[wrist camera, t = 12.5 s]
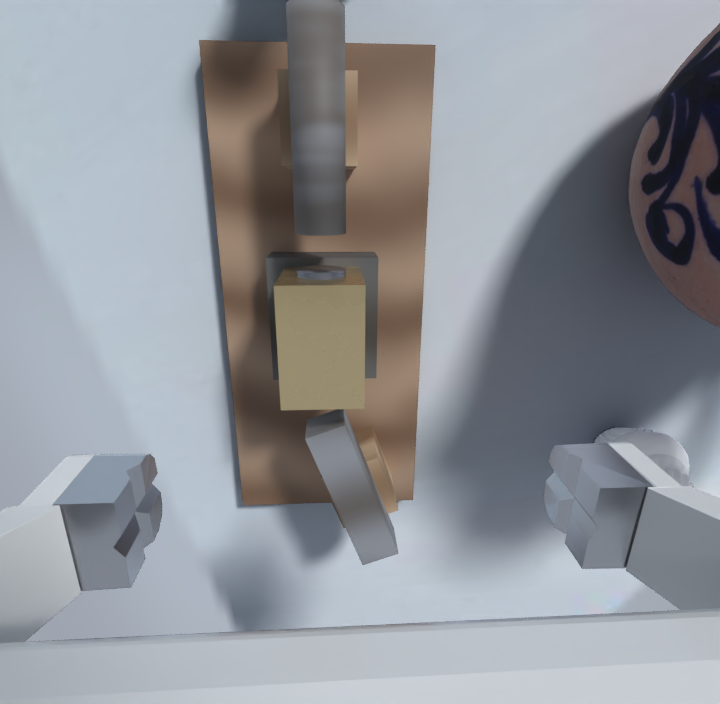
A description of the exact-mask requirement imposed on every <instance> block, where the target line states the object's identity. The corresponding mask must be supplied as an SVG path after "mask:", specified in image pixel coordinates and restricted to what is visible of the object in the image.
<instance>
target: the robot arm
mask: <svg viewBox="0 0 720 704" xmlns="http://www.w3.org/2000/svg"><path fill="white" fill-rule="evenodd" d="M549 464H550V466H551V467H552V469H553V470H554V472H553V473H552V475H551V476H550V477H549V478H548V479H547V480H546V481H545V488H544V502H545V509H546V512H547V514H548V517H549V519H550V520H551V522H552V524H553V525H554V527H556V528H557V529H559V530H561V531H562V532H564V533H565V534H567V535H566V541H565V544H566V545H567V547H568V548H569V550H570V551H571V553H572V554H573V556H574V557H575V559H576V560H577V562H578V563H579V565H580V566H581V568H582V569H598V568H626V571H627V572H629V573H630V574H632V575H633V576H634V577H636V578H637V579H639V580H640V581H641V582H643V583H644V584H645V585H647V586H648V587H650V588H651V589H652V590H654V591H655V592H657V593H658V594H659V595H661V596H662V597H663V598H665V599H666V600H668V601H669V602H670V603H672V604H673V605H674V606H676V607H677V608H679V609H680V610H676V611H675V610H674V611H653V612H633V613H612V614H591V615H570V616H549V617H528V618H507V619H487V620H466V621H446V622H426V623H406V624H386V625H365V626H344V627H324V628H303V629H282V630H261V631H240V632H219V633H199V634H179V635H158V636H136V637H115V638H95V639H76V640H75V639H74V640H53V641H34V642H33V641H32V642H25V641H26V640H27V639H28V638H29V637H30V636H32V635H33V634H34V633H35V632H36V631H38V630H39V629H40V628H41V627H42V626H44V625H45V624H46V623H47V622H48V621H49V620H51V619H52V618H53V617H54V616H55V615H57V614H58V613H59V612H60V611H61V610H62V609H64V608H65V607H66V606H67V605H68V604H70V603H71V602H72V601H73V600H74V599H75V598H77V597H78V596H79V595H80V594H81V591H87V590H102V589H116V588H129V587H132V585H133V583H134V581H135V579H136V576H137V575H138V573H139V570H140V569H141V567H142V564H143V562H144V560H145V554H144V550H143V548H145V547H146V546H148V545H149V544H150V543H152V542H153V541H154V540H155V537H156V535H157V533H158V531H159V527H160V522H161V518H162V498H161V492H160V491H159V490H158V489H157V488H156V487H155V486H154V485H153V484H152V482H153V480H154V478H155V477H156V475H157V468H156V463H155V458H154V457H153V456H152V455H151V454H99V455H97V454H81V455H70V456H67V457H66V458H65V459H64V460H63V461H62V462H61V463H60V464H59V465H58V466H57V467H56V468H55V469H54V470H53V471H52V472H51V473H50V474H49V475H48V476H47V477H46V478H45V479H44V481H43V482H42V483H41V484H40V485H39V486H38V487H37V488H36V489H35V490H34V491H33V492H32V493H31V494H30V495H29V496H28V497H27V498H26V499H25V500H24V501H23V502H22V504H21V505H20V506H16V507H8V508H6V509H4V510H2V511H0V704H720V498H717V497H715V496H713V495H710V494H708V493H705V492H703V491H700V490H698V489H695V488H693V487H690V486H681V485H680V484H679V483H677V482H676V481H675V480H674V479H673V478H672V477H670V476H669V475H668V474H667V473H666V472H665V471H663V470H662V469H661V468H660V467H659V466H658V465H656V464H655V463H654V462H653V461H652V460H651V459H649V458H648V457H647V456H646V455H645V454H644V453H642V452H641V451H640V450H639V449H638V448H637V447H635V446H634V445H633V444H632V443H628V442H625V441H622V442H606V443H589V444H569V445H554V447H553V449H552V451H551V453H550V458H549Z"/></svg>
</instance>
